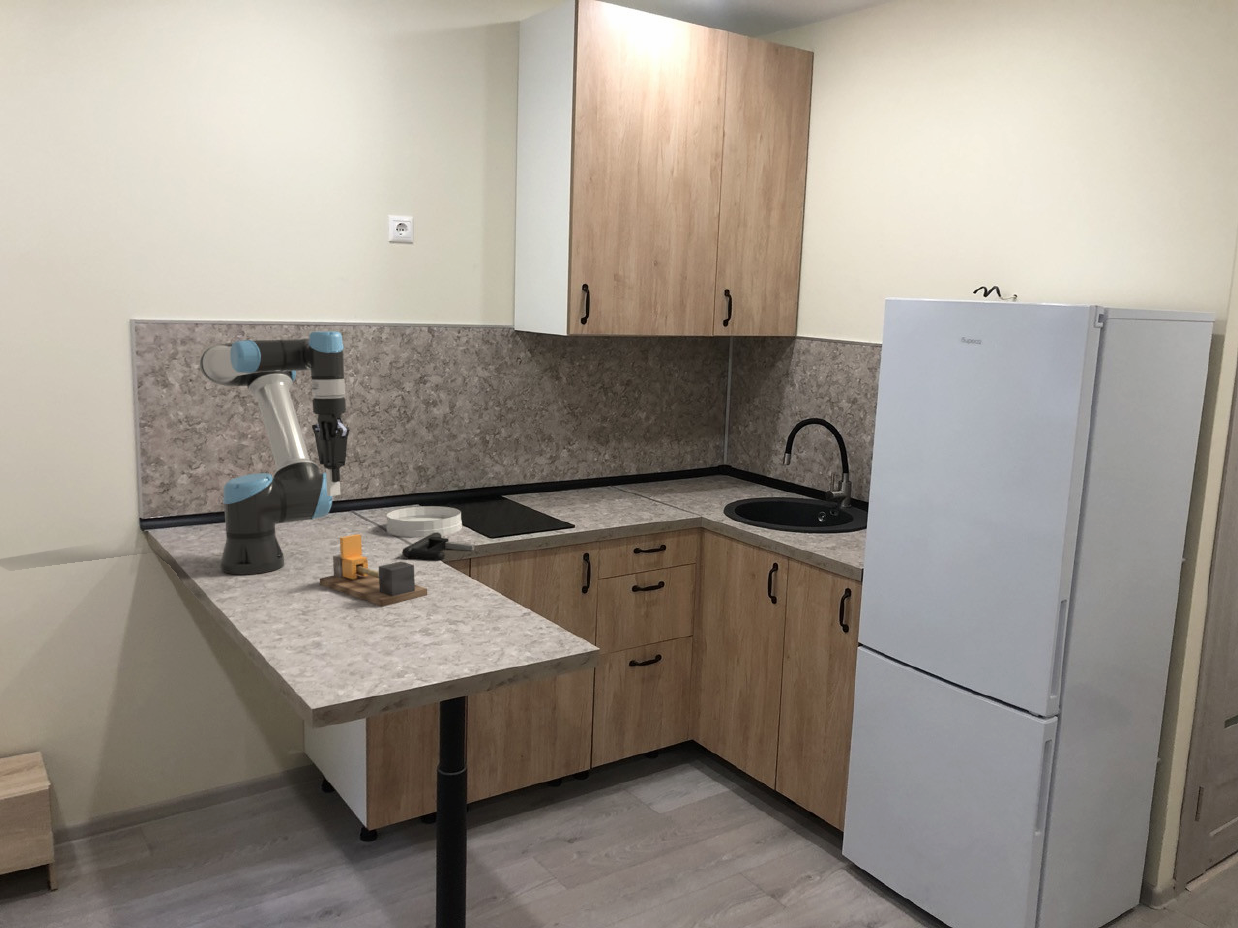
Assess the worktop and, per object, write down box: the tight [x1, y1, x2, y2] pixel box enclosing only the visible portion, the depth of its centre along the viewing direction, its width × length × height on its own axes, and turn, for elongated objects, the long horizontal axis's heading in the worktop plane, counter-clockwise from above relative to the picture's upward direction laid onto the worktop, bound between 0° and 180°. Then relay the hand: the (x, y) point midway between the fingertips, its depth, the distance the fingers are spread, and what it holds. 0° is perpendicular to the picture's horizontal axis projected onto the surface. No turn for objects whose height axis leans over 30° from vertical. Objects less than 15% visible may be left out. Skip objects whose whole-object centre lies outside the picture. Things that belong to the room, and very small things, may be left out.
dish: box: [385, 505, 463, 538], centre depth 292 cm, size 22×22×5 cm
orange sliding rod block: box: [339, 533, 369, 579], centre depth 232 cm, size 4×5×10 cm
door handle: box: [401, 532, 475, 561], centre depth 264 cm, size 3×20×16 cm
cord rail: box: [319, 553, 428, 607], centre depth 228 cm, size 26×12×8 cm, turn 47°
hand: (333, 494), depth 235 cm, fingers closed
